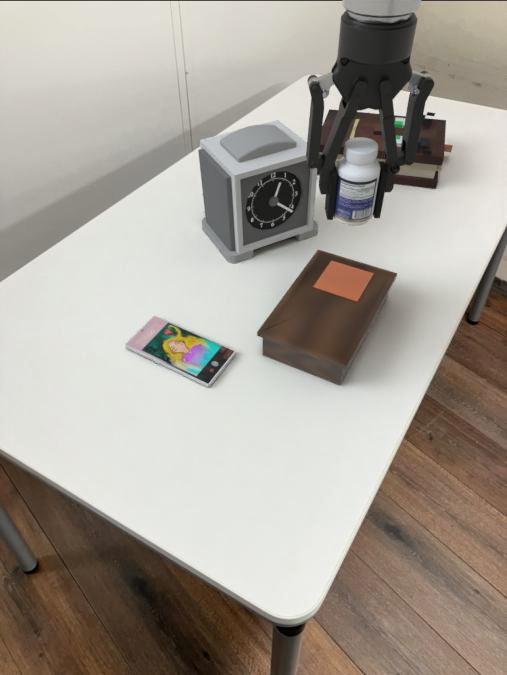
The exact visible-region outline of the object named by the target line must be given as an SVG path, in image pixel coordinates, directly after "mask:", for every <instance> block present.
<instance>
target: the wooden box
mask: <svg viewBox="0 0 507 675" xmlns="http://www.w3.org/2000/svg"><path fill="white" fill-rule="evenodd" d="M397 276H398V273H397V272H394V271H391V270H387V269H384V268H381V267H377V266H374V265H371V264H367V263H364V262H362V261H358V260H354V259H352V258H347V257H343V256H341V255H337V254H334V253H331V252H327V251H324V250H321V249H317V250H316V251H315V253H314V254H313V256H312V257H311V259H310V260H309V261H308V263H307V264H306V265H305V266H304V268H302V271H301V272H300V273H299V275H298V276H297V277H296V279H295V280H294V282H293V283H292V284H291V285H290V286H289V288H288V289H287V291H286V292H285V293H284V295H283V296H282V298H281V299H280V300H279V302H278V303H277V304H276V306H275V307H274V308H273V310H272V311H271V313H270V314H269V315H268V316H267V317H266V319H265V320H264V322H263V323H262V325H261V326H260V327H259V329H258V330H257V332H256V336H257V337H259V338H262V356H264V357H267V358H269V359H271V360H274V361H277V362H279V363H282V364H284V365H287V366H289V367H292V368H295V369H297V370H300V371H302V372H304V373H307V374H310V375H313V376H314V377H317V378H319V379H323V380H325V381H326V382H327V381H328V382H329V383H332V384H335V385H337V386H341V384H342V383H343V381H344V379H345V377H346V375H347V374H348V371H349V370H350V368H351V366H352V364H353V362H354V361H355V358H356V357H357V355H358V353H359V351H360V349H361V347H362V345H363V344H364V342H365V340H366V338H367V337H368V334H369V333H370V330H371V329H372V327H373V325H374V323H375V321H376V320H377V318H378V316H379V314H380V312H381V310H382V308H383V306H384V305H385V303H386V301H387V299H388V296H389V292H390V290H391V288H392V286H393V284H394V283H395V281H396V280H397Z"/></svg>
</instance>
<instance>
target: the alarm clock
mask: <svg viewBox="0 0 507 675" xmlns="http://www.w3.org/2000/svg"><path fill="white" fill-rule="evenodd" d="M199 145H200V148H199V149H198V151H197V153H198V160H199V162H198V163H199V169H200V170H199V172H200V179H201V189H202V190H201V191H202V199H203V206H204V217H203V218H202V220H201V228H202V231H203V232H204V233H205V235H206V236H207V237H208V239H209V240H210V241H211V242H212V244H213V245H214V246H215V247H216V249H217V250H218V251H219V252H220V254H221V255H222V257H223V258H224V259H225V260H226V261H227V263H230V264H238V263H240V262H243V261H247V260H249V259H252V258H254V250H257V249H260V248H263V247H266V246H269V245H272V244H275V243H277V242H281V241H283V240H287V239H289V238H292V237H294V238H295V239H296V240H297V241H298V242H301V241H305V240H308V239H311V238H313V237H316V236H317V235H318V233H319V232H318V230H319V223H318V222H316V221H315V206H316V205H315V204H316V193H317V192H316V190H317V181H318V180H317V178H318V177H317V176H318V175H317V168H314V169H311V168H309V167H308V163H307V158H306V149H307V141H306V140H305V139H304V138H302V137H301V136H299V134H297V133H296V132H294V131H293V130H292V129H291V128H289V127H288V126H287V125H285V124H284V123H283V122H281V121H280V120H279V119H276V120H272V121H269V122H265V123H261V124H254V125H253V124H252V125H249V126H245V127H242V128H239V129H236V130H233V131H230V132H225V133H222V134H217V135H214V136H210V137H206V138H202V139H199Z"/></svg>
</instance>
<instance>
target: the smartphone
mask: <svg viewBox="0 0 507 675" xmlns="http://www.w3.org/2000/svg"><path fill="white" fill-rule="evenodd" d="M124 346H125V348H126V349H127V350H129V351H131V352H133V353H135V354H138V355H139V356H141V357H144V358H146V359H148V360H150V361H152V362H154V363H156V364H159V365H161V366H162V367H164V368H166V369H169V370H171V371H173V372H175V373H177V374H179V375H181V376H183V377H185V378H188V379H190V380H191V381H194V382H196V383H198V384H200V385H202V386H204V387H207V388H211V387H212V385H213V384H214V382H215V381H216V380H217V379H218V378H219V376H220V375H221V373H222V372H224V371H225V369H226V368H227V366H228V365H229V364H230V363H231V361H232V360H233V359H234V358H235V357H236V354H237V352H236V350H234V349H232V348H230V347H229V346H225V345H223V344H221V343H218V342H216V341H215V340H212V339H209V338H207V337H205V336H202V335H200V334H198V333H196V332H193V331H192V330H189V329H186V328H184V327H182V326H180V325H177V324H175V323H173V322H170V321H168V320H166V319H164V318H162V317H159V316H157V315H153V316H152V317H150V318H149V320H147V322H146V323H145V324H144V325H143V326H142V327H141V328H140V329H139V330H137V332H136V333H134V334H133V335H132V336H131V337H130V338H129V339H128V341H127V342H126V343H125V344H124Z"/></svg>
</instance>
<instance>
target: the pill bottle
mask: <svg viewBox="0 0 507 675" xmlns="http://www.w3.org/2000/svg"><path fill="white" fill-rule="evenodd" d="M343 153H344V154H343V156H344V157H342V158H341V159H340V160H339V161H338V163H337V167H336V169H337V173H338V178H337V187H336V197H335V206H334V215H333V219H334V220H335V221H336V222H338V223H340V224H342V225H345V226H351V227H353V226H354V227H356V226H363V225H366V224H367V223H369V222H370V221H371V220H372V218H373V217H374V216H373V212H374V206H375V200H376V194H377V188H378V182H379V176H380V169H381V168H380V164H379V162H378V161H377V160H376V158H377V154H378V144H377V142H375V141H374V140H372V139H369V138H362V137H358V138H352V139H349V140H348V141H346V142H345V145H344V152H343Z"/></svg>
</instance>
